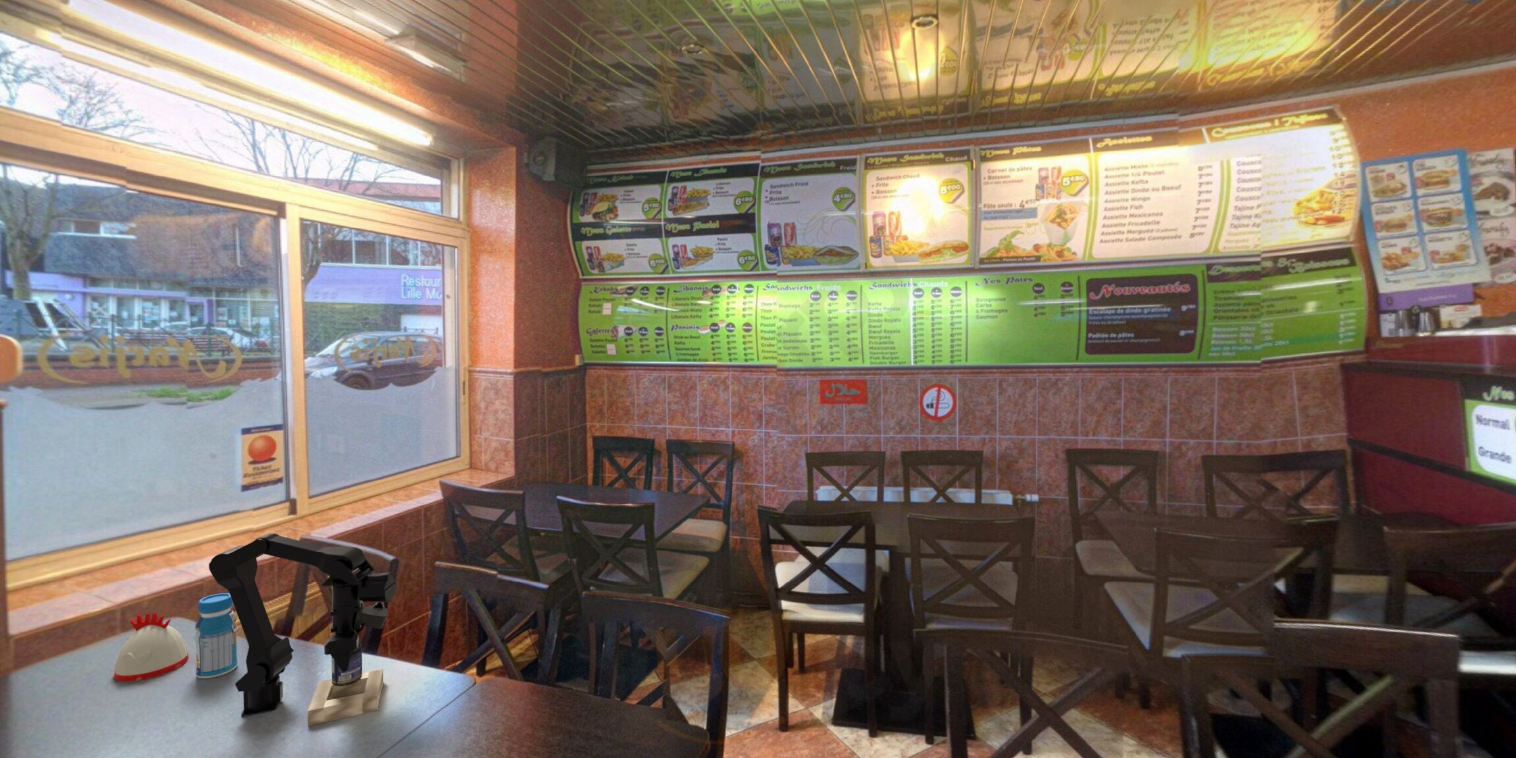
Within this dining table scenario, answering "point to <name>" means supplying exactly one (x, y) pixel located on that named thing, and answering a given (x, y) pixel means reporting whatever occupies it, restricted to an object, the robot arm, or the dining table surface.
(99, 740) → the dining table surface
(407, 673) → the dining table surface
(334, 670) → the pill bottle
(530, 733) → the dining table surface
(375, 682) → the holder block
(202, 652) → the blue vitamin bottle
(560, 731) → the dining table surface
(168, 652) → the cream hat
